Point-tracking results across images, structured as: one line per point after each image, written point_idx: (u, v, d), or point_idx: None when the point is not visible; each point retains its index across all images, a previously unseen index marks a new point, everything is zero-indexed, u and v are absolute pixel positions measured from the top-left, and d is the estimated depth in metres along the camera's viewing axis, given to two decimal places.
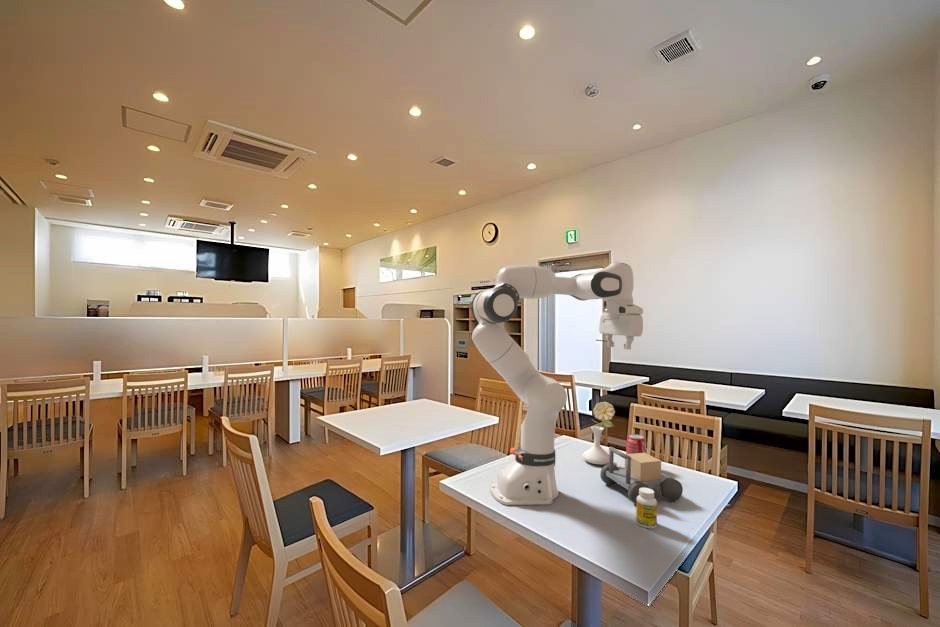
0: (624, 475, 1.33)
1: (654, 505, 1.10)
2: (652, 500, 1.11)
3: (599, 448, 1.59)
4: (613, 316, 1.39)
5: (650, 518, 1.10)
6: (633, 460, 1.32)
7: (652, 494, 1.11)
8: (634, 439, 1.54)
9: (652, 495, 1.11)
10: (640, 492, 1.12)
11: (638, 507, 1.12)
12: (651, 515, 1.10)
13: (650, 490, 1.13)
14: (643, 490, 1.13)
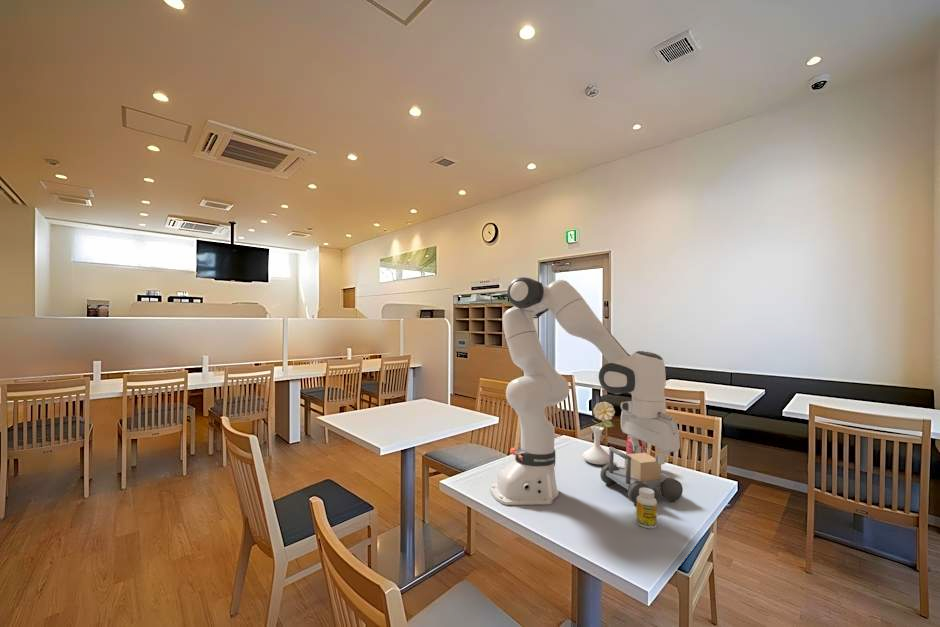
0: (624, 475, 1.33)
1: (654, 505, 1.10)
2: (652, 500, 1.11)
3: (599, 448, 1.59)
4: None
5: (650, 518, 1.10)
6: (633, 460, 1.32)
7: (652, 494, 1.11)
8: None
9: (652, 495, 1.11)
10: (640, 492, 1.12)
11: (638, 507, 1.12)
12: (651, 515, 1.10)
13: (650, 490, 1.13)
14: (643, 490, 1.13)
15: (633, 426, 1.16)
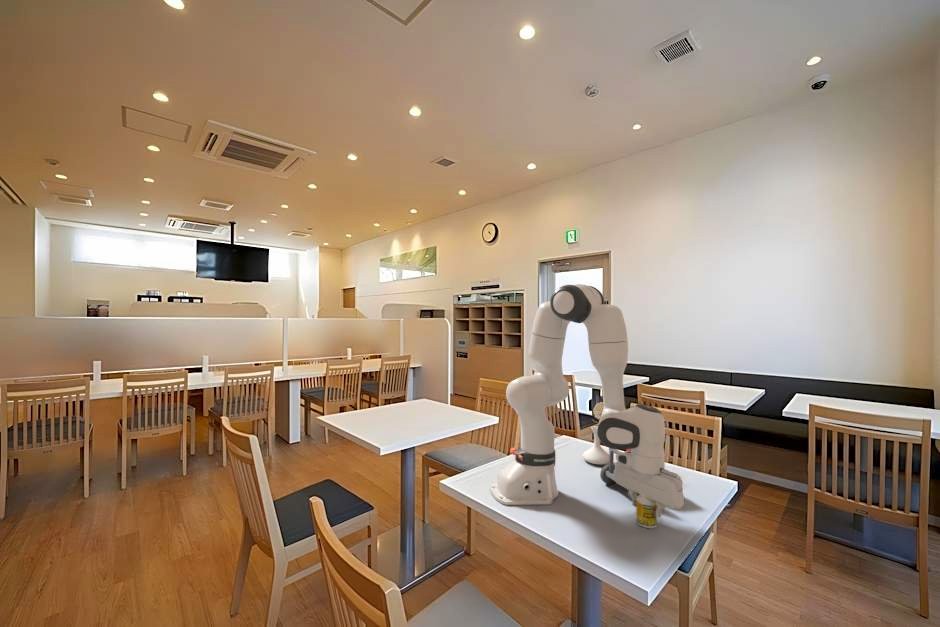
0: None
1: (654, 505, 1.10)
2: (652, 500, 1.11)
3: (599, 448, 1.59)
4: None
5: (650, 518, 1.10)
6: None
7: None
8: None
9: None
10: (640, 492, 1.12)
11: (638, 507, 1.12)
12: (651, 515, 1.10)
13: None
14: None
15: (630, 478, 1.15)
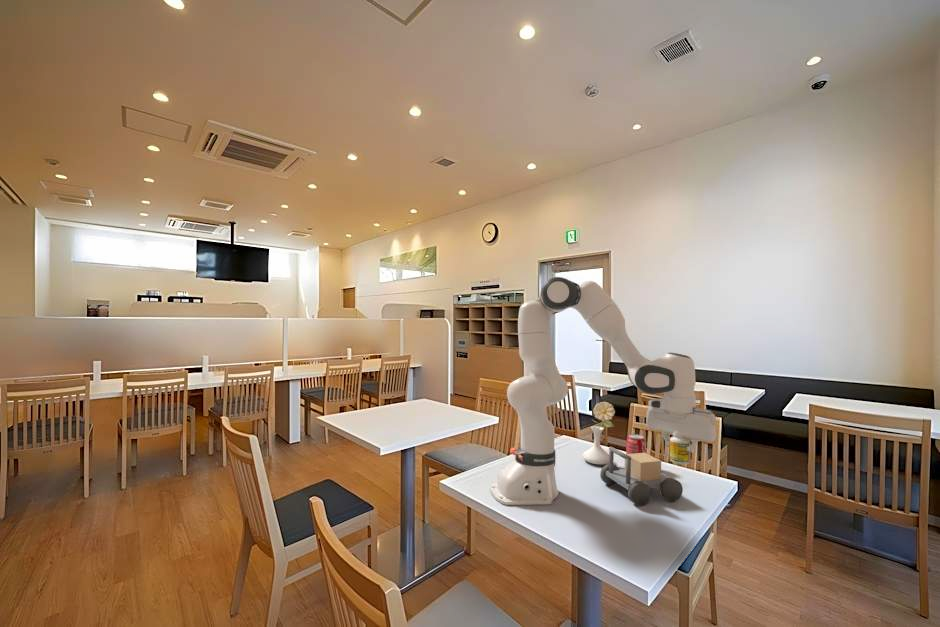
0: (624, 475, 1.33)
1: (687, 443, 1.22)
2: (685, 439, 1.22)
3: (599, 448, 1.59)
4: None
5: (685, 455, 1.21)
6: (633, 460, 1.32)
7: None
8: (634, 439, 1.54)
9: None
10: (674, 433, 1.23)
11: (673, 446, 1.23)
12: (685, 452, 1.21)
13: None
14: None
15: (663, 421, 1.26)
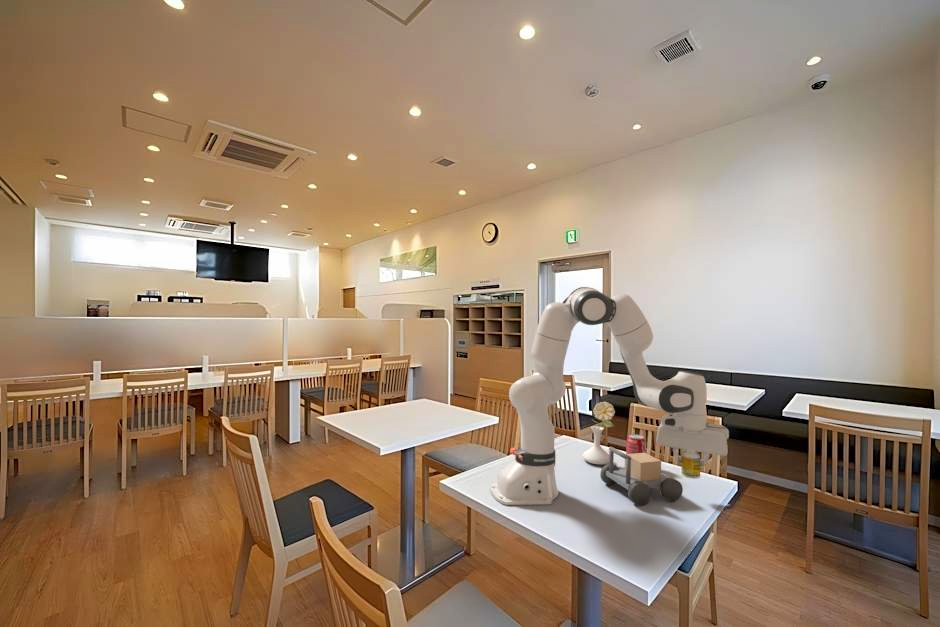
0: (624, 475, 1.33)
1: None
2: (697, 453, 1.28)
3: (599, 448, 1.59)
4: None
5: (698, 469, 1.26)
6: (633, 460, 1.32)
7: None
8: (634, 439, 1.54)
9: None
10: (688, 448, 1.28)
11: (688, 462, 1.27)
12: (699, 466, 1.27)
13: None
14: None
15: (675, 438, 1.30)
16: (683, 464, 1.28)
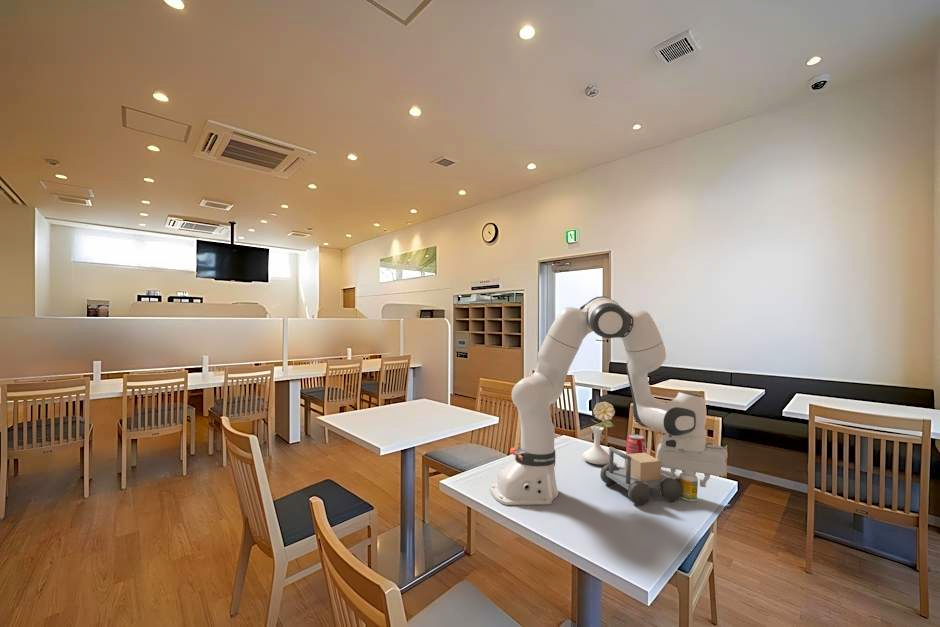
0: (624, 475, 1.33)
1: (697, 480, 1.28)
2: (695, 476, 1.28)
3: (599, 448, 1.59)
4: None
5: (696, 492, 1.27)
6: (633, 460, 1.32)
7: None
8: (634, 439, 1.54)
9: (695, 472, 1.28)
10: (687, 471, 1.28)
11: (686, 485, 1.27)
12: None
13: None
14: None
15: (675, 459, 1.29)
16: None
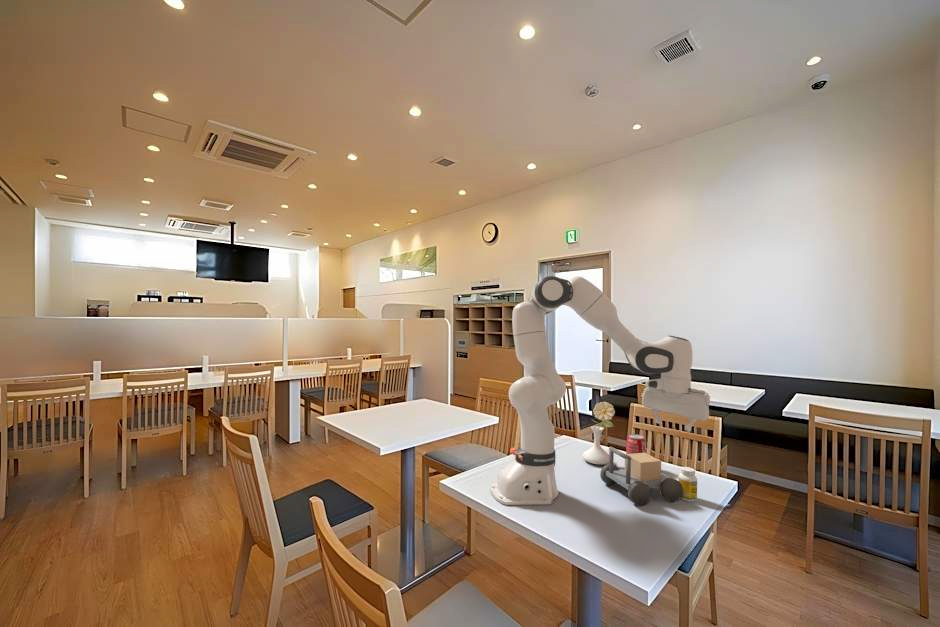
0: (624, 475, 1.33)
1: None
2: (694, 476, 1.28)
3: (599, 448, 1.59)
4: None
5: (696, 492, 1.27)
6: (633, 460, 1.32)
7: (694, 471, 1.28)
8: (634, 439, 1.54)
9: (694, 472, 1.28)
10: (686, 472, 1.28)
11: (686, 485, 1.27)
12: (696, 489, 1.27)
13: (689, 468, 1.30)
14: (686, 469, 1.29)
15: (658, 400, 1.33)
16: None
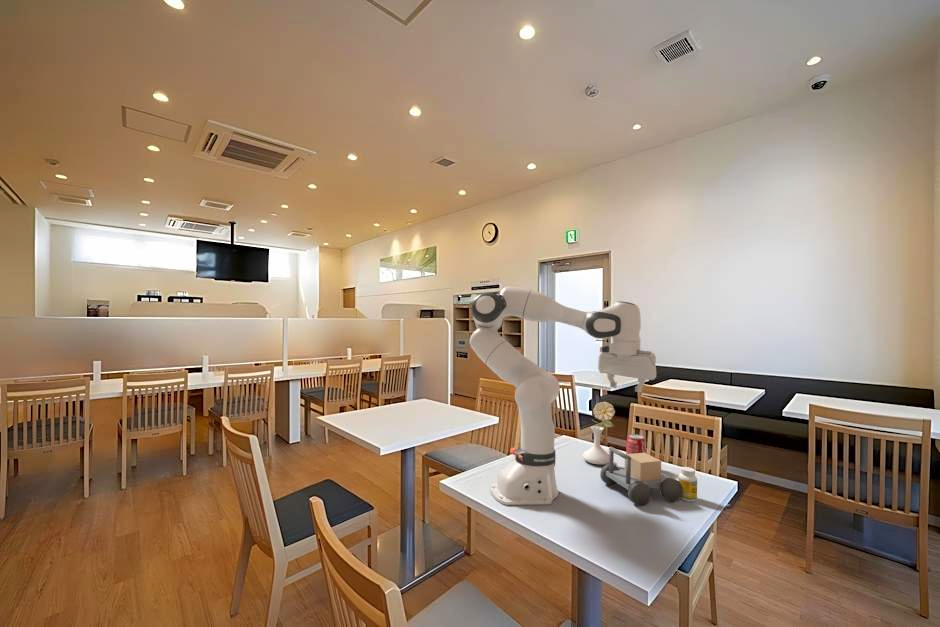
0: (624, 475, 1.33)
1: None
2: (694, 476, 1.28)
3: (599, 448, 1.59)
4: None
5: (696, 492, 1.27)
6: (633, 460, 1.32)
7: (694, 471, 1.28)
8: (634, 439, 1.54)
9: (694, 472, 1.28)
10: (686, 472, 1.28)
11: (686, 485, 1.27)
12: (696, 489, 1.27)
13: (689, 468, 1.30)
14: (686, 469, 1.29)
15: (611, 365, 1.38)
16: None
